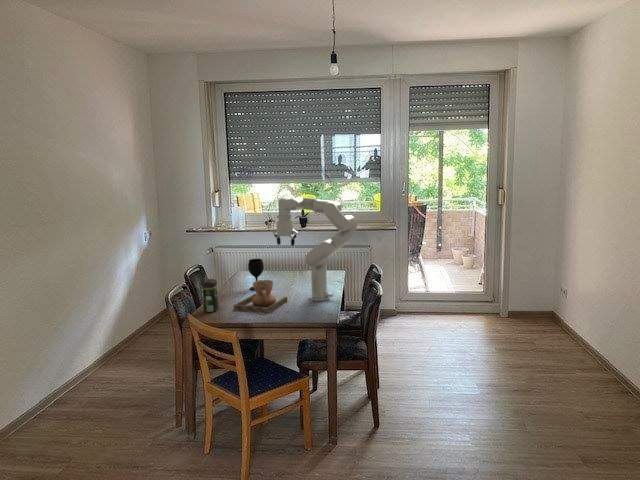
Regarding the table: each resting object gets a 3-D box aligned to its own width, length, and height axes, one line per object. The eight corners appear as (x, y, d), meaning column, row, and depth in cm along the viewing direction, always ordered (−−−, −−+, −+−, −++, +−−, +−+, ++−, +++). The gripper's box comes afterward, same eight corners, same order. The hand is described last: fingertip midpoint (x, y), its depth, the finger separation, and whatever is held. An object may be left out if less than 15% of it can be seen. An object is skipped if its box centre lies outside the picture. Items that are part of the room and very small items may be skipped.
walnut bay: (287, 301, 308) (287, 296, 307) (268, 313, 285) (268, 308, 284) (254, 298, 316) (254, 294, 316) (233, 309, 293) (233, 305, 293)
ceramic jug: (252, 301, 310) (250, 279, 307) (275, 299, 312) (274, 277, 309) (252, 310, 292) (250, 287, 290) (276, 308, 294) (275, 285, 291)
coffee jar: (207, 308, 299) (205, 277, 296) (220, 308, 298) (218, 277, 295) (201, 312, 289) (199, 281, 286) (215, 313, 288) (213, 281, 285)
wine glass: (261, 290, 334) (260, 261, 331) (247, 290, 336) (245, 261, 333) (266, 287, 344) (265, 258, 341) (252, 286, 346) (250, 258, 343)
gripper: (269, 218, 313) (270, 245, 315) (294, 219, 306) (295, 246, 309) (275, 217, 319) (276, 243, 322) (299, 217, 313) (300, 244, 316)
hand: (285, 244), depth 316 cm, fingers open, 9 cm apart
